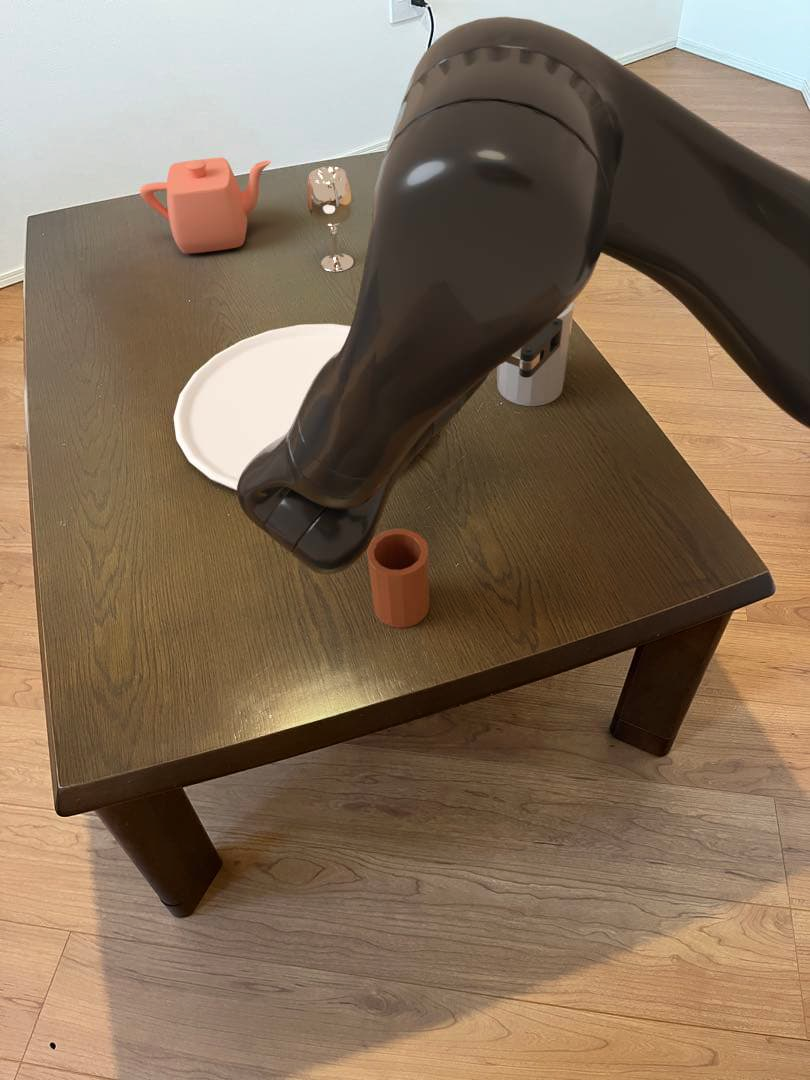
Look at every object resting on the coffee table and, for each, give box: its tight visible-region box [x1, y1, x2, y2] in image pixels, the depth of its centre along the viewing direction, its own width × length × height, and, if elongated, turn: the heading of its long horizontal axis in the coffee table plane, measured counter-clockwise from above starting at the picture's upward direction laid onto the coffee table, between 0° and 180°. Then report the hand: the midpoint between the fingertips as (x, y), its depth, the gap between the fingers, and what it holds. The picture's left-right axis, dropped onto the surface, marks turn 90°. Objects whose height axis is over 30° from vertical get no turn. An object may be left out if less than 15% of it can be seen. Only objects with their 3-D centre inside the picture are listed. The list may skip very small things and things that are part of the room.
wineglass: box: [306, 165, 355, 273], centre depth 107 cm, size 6×6×12 cm
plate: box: [173, 323, 351, 492], centre depth 92 cm, size 29×29×1 cm
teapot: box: [139, 157, 272, 254], centre depth 114 cm, size 12×18×10 cm, turn 100°
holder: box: [366, 528, 431, 629], centre depth 71 cm, size 5×5×8 cm
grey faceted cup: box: [496, 299, 576, 407], centre depth 89 cm, size 7×7×11 cm
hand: (514, 285), depth 78 cm, fingers open, 8 cm apart
